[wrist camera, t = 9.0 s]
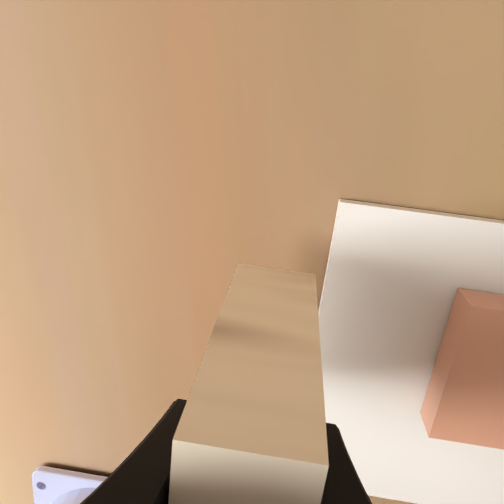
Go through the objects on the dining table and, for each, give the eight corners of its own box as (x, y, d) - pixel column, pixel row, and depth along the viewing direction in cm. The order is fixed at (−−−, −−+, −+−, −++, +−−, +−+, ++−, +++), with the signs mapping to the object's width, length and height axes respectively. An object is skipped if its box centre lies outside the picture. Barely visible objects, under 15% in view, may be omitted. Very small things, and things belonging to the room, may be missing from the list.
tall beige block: (289, 425, 17) (278, 697, 9) (221, 414, 17) (157, 673, 9) (315, 273, 15) (328, 466, 7) (238, 262, 15) (172, 440, 7)
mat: (625, 530, 22) (631, 539, 21) (288, 473, 23) (288, 481, 22) (781, 257, 17) (795, 262, 16) (339, 198, 18) (340, 201, 17)
